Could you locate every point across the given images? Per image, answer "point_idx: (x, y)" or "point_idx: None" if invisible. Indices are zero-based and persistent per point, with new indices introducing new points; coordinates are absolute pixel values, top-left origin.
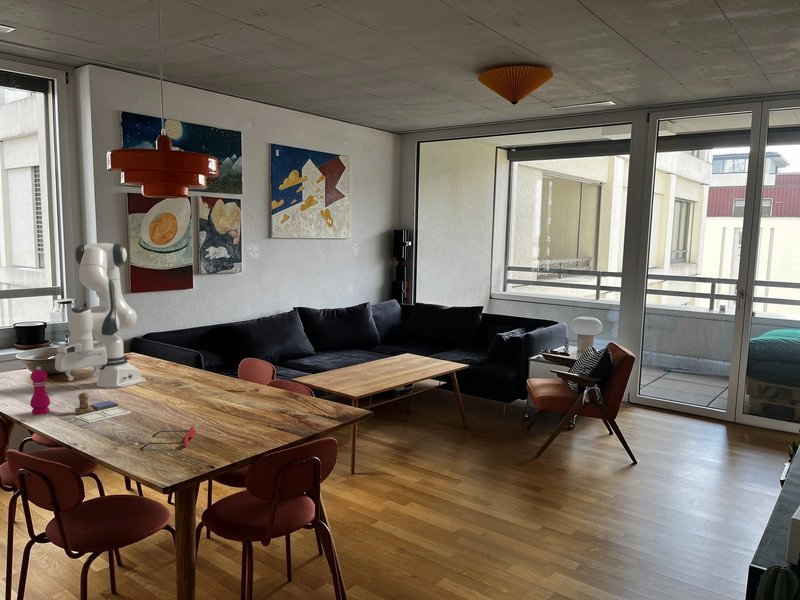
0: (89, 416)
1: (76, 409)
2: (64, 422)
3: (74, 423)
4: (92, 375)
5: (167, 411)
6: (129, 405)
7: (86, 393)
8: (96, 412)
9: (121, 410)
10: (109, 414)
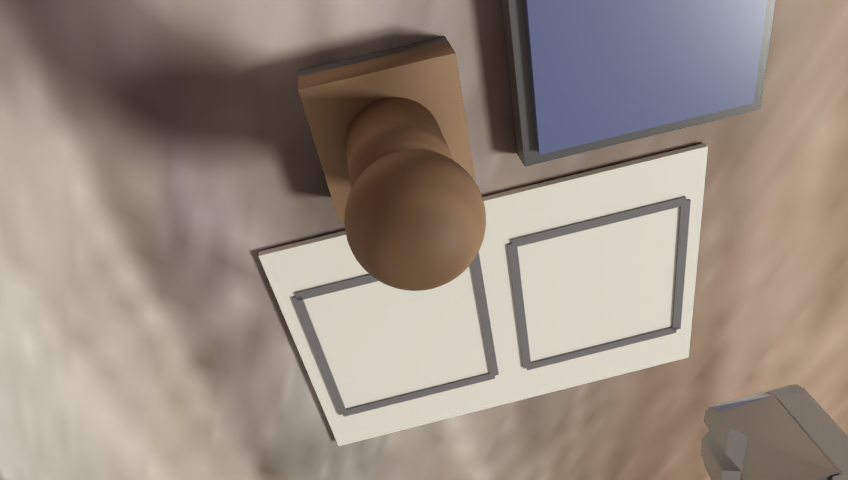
0: (382, 315)
1: (307, 120)
2: (154, 348)
3: (233, 403)
4: (720, 477)
5: (844, 419)
6: (820, 140)
7: (461, 268)
8: None
9: (663, 282)
10: (535, 339)
